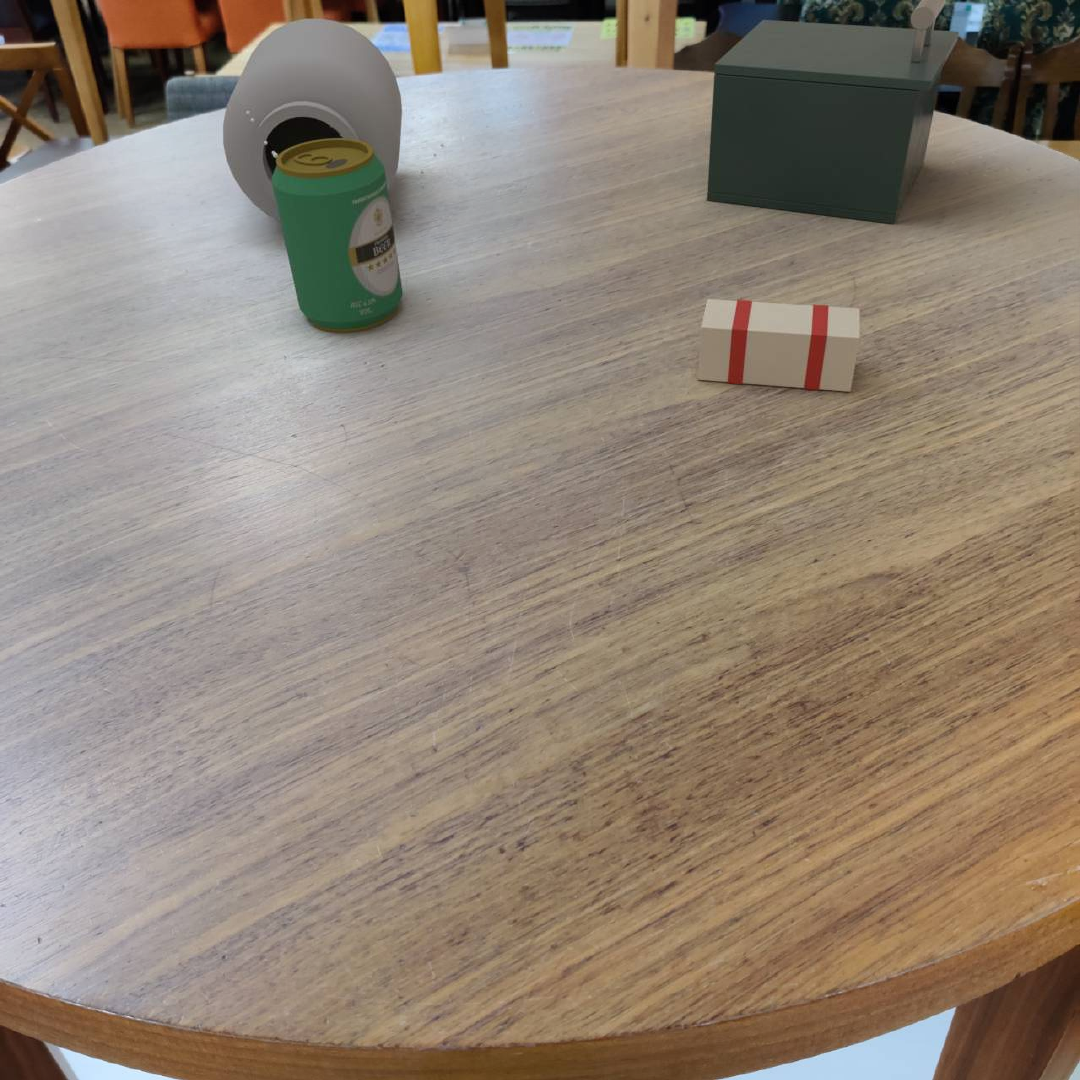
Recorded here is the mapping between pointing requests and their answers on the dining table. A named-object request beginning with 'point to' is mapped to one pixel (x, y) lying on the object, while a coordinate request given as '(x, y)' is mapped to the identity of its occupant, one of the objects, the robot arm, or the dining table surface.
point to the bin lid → (845, 52)
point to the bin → (817, 145)
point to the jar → (309, 102)
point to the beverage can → (338, 233)
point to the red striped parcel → (779, 344)
